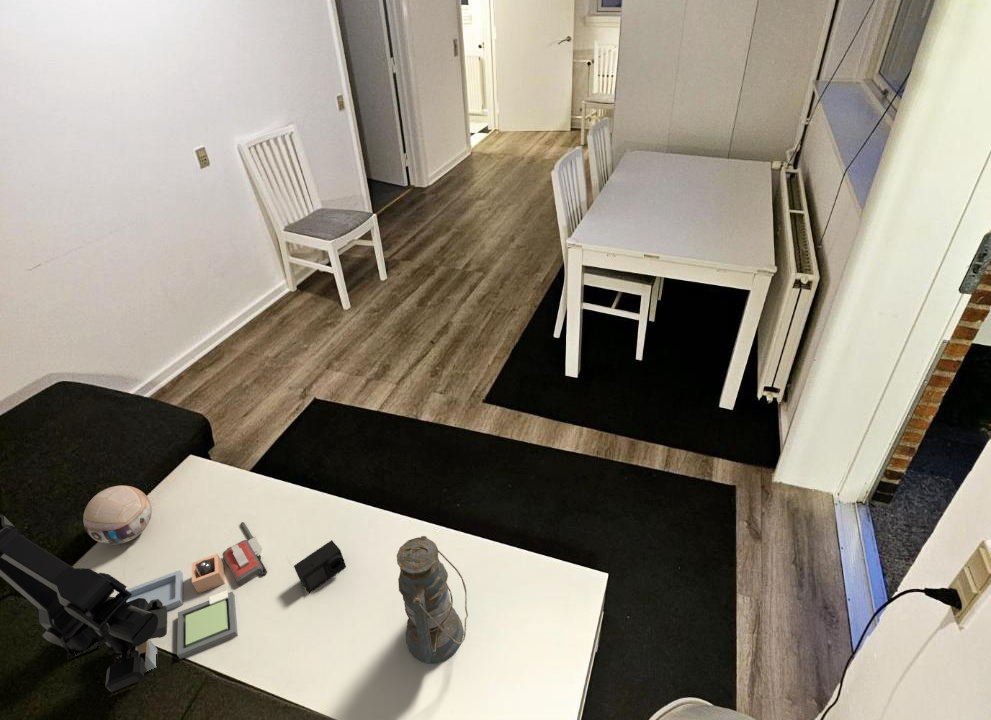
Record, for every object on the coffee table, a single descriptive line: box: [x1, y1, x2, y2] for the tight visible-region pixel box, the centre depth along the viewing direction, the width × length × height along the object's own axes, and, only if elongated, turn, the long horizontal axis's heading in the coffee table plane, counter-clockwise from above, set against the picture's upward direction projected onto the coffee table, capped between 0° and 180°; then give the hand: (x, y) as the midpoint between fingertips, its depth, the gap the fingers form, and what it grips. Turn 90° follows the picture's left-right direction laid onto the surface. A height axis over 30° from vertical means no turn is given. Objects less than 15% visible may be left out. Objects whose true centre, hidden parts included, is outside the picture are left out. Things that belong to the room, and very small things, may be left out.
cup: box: [191, 553, 226, 594], centre depth 138 cm, size 6×6×5 cm
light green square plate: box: [185, 600, 229, 647], centre depth 129 cm, size 9×8×1 cm
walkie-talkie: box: [222, 521, 268, 586], centre depth 144 cm, size 9×4×20 cm
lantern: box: [396, 535, 469, 664], centre depth 117 cm, size 19×14×30 cm
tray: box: [126, 569, 184, 612], centre depth 135 cm, size 13×9×2 cm
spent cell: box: [197, 560, 215, 576], centre depth 138 cm, size 3×3×6 cm
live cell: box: [136, 639, 158, 673], centre depth 122 cm, size 4×4×6 cm
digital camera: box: [293, 540, 347, 594], centre depth 137 cm, size 10×5×7 cm, turn 133°
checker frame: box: [176, 589, 239, 660], centre depth 129 cm, size 12×12×3 cm
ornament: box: [82, 485, 153, 546], centre depth 149 cm, size 15×15×15 cm
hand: (144, 661), depth 123 cm, fingers closed on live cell, 4 cm apart
